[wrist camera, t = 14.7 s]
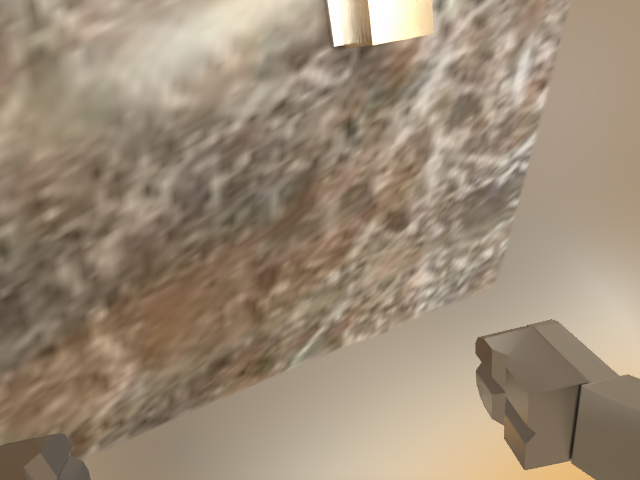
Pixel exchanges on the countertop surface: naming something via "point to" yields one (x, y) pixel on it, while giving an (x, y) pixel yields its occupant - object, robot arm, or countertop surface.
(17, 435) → the countertop surface
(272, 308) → the countertop surface
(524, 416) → the robot arm
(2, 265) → the countertop surface
